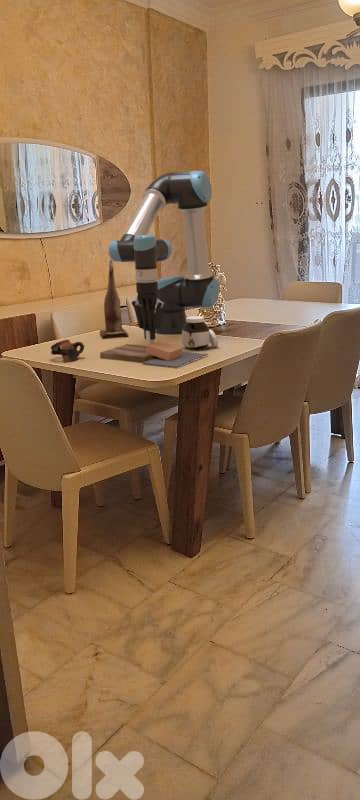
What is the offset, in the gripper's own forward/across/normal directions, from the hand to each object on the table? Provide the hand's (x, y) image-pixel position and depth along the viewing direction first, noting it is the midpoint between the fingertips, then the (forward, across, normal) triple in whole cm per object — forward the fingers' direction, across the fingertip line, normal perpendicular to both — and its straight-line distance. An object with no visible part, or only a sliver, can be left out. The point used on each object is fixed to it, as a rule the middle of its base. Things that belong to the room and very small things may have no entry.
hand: (150, 348), depth 226 cm
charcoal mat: (+3, +11, 0) cm, 11 cm away
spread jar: (+4, +8, +21) cm, 23 cm away
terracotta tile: (+2, +6, 0) cm, 6 cm away
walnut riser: (+3, -7, 0) cm, 8 cm away
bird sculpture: (+4, -40, +28) cm, 49 cm away
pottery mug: (+4, -26, -14) cm, 30 cm away
